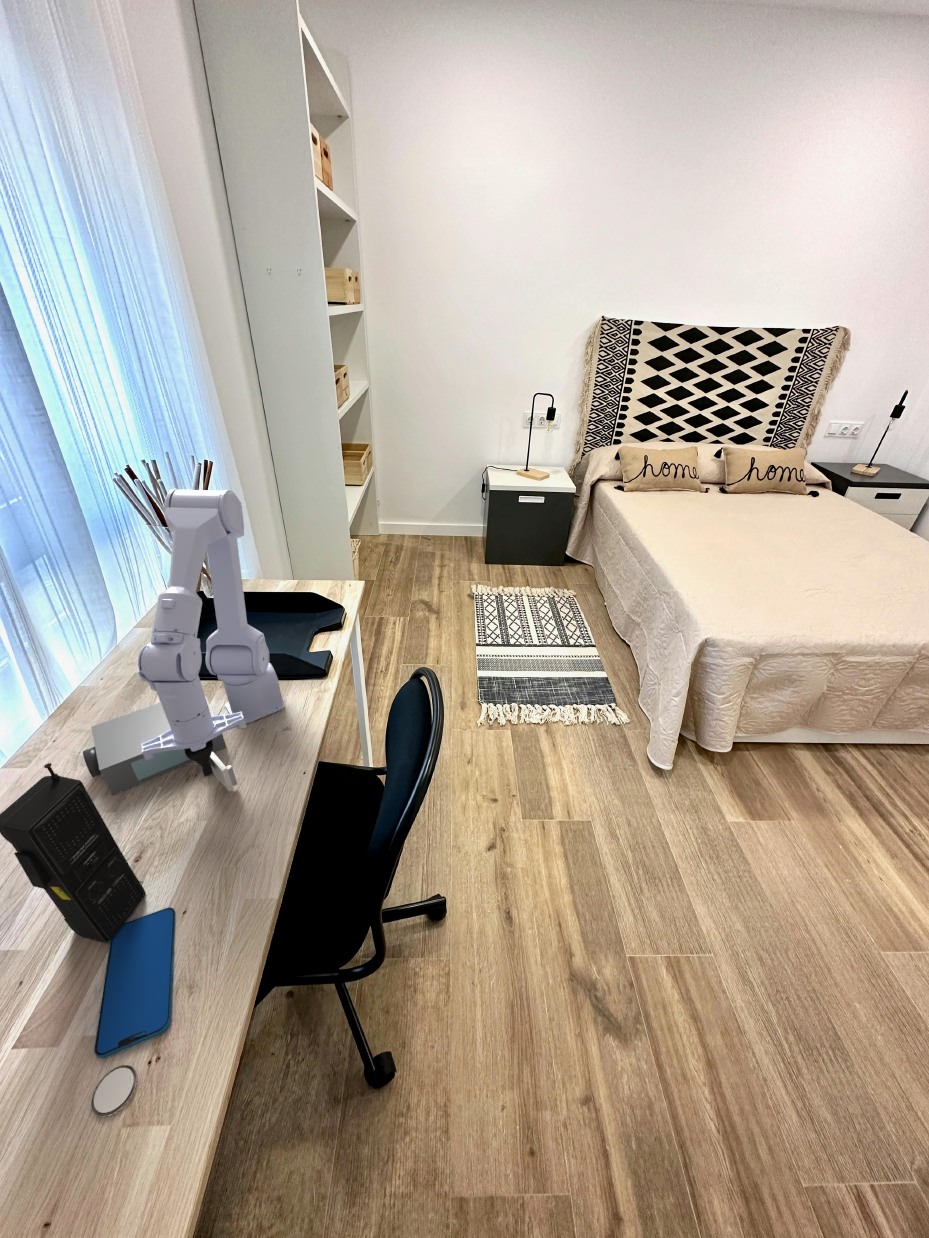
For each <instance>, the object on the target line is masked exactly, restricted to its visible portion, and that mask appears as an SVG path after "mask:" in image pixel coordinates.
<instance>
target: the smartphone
mask: <svg viewBox="0 0 929 1238" xmlns="http://www.w3.org/2000/svg"><path fill="white" fill-rule="evenodd" d="M175 933H176V911H175V909H174V908H173V907H165V908H162V909H159V910H157V911H155V912H151V913H148V914H146V915H142V916H139V917H136V918H134V919H132V920H131V919H130V920H127V921H126V922H125V923H124V925H123V926H122V927H121V929H120V930H119V931H118V932H117V934H116V935H115V936H114V938H113V939H111V940H110V942H109V947H108V955H107V961H106V968H105V975H104V981H103V988H102V994H101V1002H100V1008H99V1015H98V1021H97V1026H96V1027H97V1029H96V1034H95V1040H94V1041H95V1042H94V1048H93V1052H94V1054H95V1056H96V1057H97V1058H98V1059H101V1060H104V1059H106V1058H110V1057H111V1056H113V1055H116V1054H119V1053H121V1052H123V1051H125V1050H127V1049H130V1048H132V1047H135V1046H137V1045H139V1044H142V1043H144V1042H147V1041H149V1040H151V1039H153V1038H155V1037H158V1036H161V1035H162V1034H164V1033H165V1032H167V1030H168V1029H169V1027H170V1026H171V1023H172V1010H173V1009H172V1008H173V1007H172V1006H173V992H174V990H173V989H174V988H173V987H174V986H173V984H174V960H175V958H174V957H175V940H176V939H175V937H176V935H175Z"/></svg>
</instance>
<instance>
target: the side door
mask: <svg viewBox="0 0 929 1238" xmlns="http://www.w3.org/2000/svg"><path fill="white" fill-rule="evenodd" d="M209 761H210V764H211V767H212V771H213V775H214V776H215V777H216V778H217V779H218V781H219V782H220V783H221V784H222V785H223V786H224V788H225V789H226V790H227V791H228V792H231V791H232V790H234V786H236V785H238V782H237V779H236V776H235V772H234V769H233V766H232V765H231V764H227V766H226V765H225V764H224V763H223V762H222V760H220V758H219V757H218V755H216V753H213V752H212V753H211V756H210V759H209Z"/></svg>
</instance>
